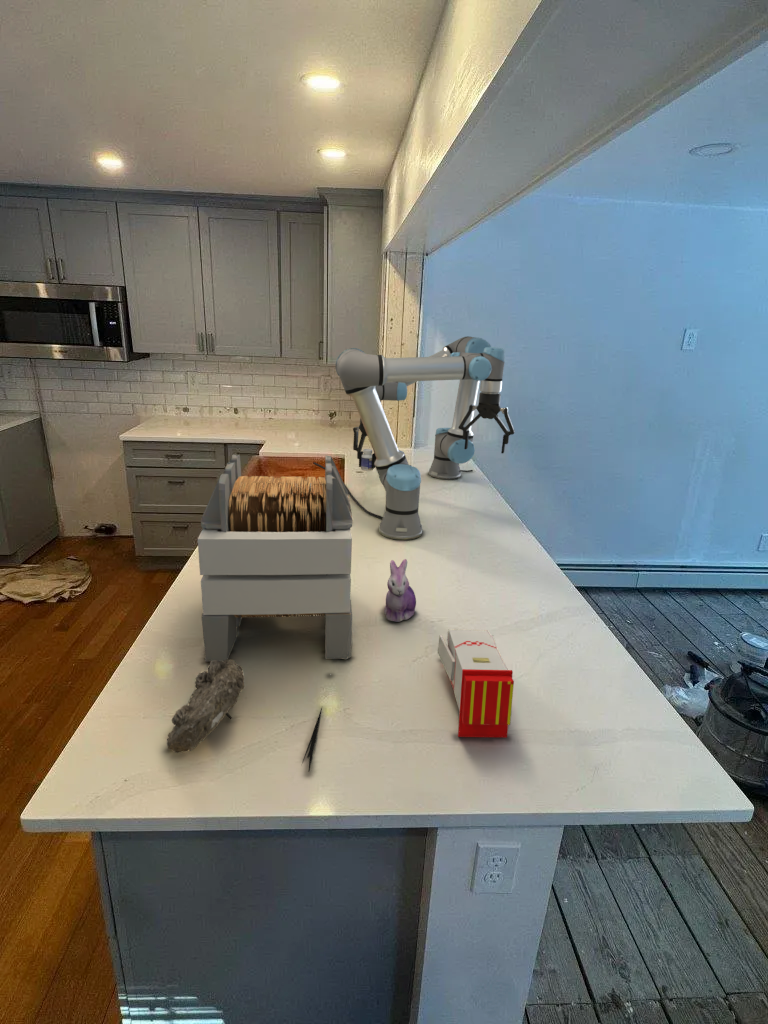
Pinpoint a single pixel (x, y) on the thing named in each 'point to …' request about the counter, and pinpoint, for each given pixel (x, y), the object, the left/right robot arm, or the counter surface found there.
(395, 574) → the figurine
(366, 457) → the pill bottle
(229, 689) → the fossil
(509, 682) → the toy
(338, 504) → the record crate
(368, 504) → the counter surface
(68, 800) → the counter surface
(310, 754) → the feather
